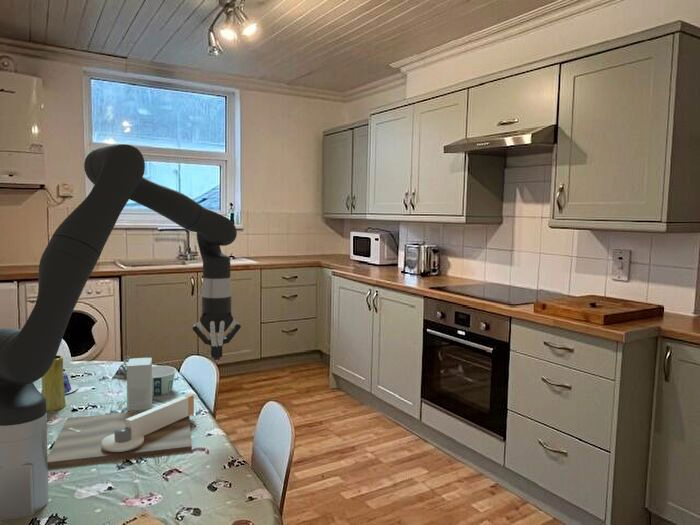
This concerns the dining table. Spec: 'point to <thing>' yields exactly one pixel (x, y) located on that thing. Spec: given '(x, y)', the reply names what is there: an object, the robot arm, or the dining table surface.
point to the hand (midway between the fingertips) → (216, 359)
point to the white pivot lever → (148, 424)
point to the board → (88, 432)
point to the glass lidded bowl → (122, 370)
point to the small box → (139, 384)
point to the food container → (162, 379)
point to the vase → (54, 385)
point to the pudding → (65, 385)
